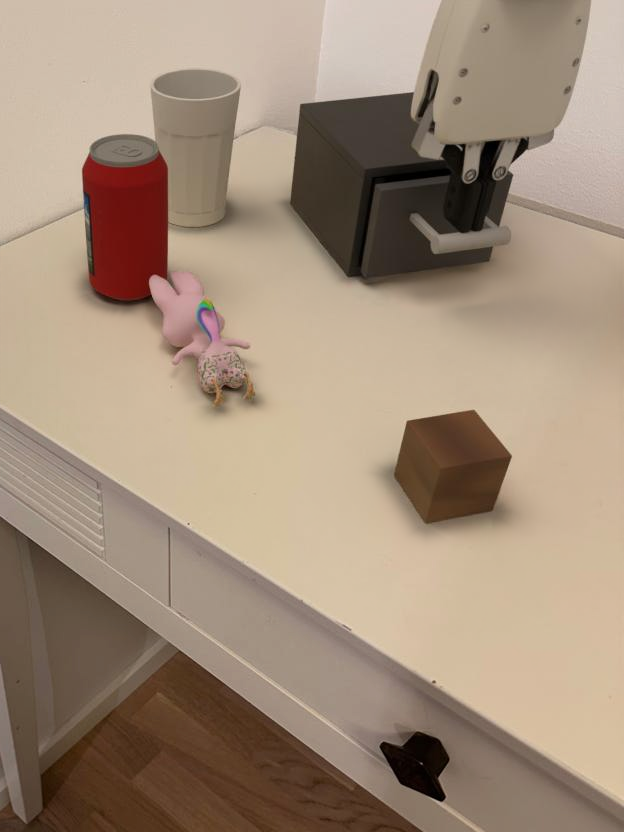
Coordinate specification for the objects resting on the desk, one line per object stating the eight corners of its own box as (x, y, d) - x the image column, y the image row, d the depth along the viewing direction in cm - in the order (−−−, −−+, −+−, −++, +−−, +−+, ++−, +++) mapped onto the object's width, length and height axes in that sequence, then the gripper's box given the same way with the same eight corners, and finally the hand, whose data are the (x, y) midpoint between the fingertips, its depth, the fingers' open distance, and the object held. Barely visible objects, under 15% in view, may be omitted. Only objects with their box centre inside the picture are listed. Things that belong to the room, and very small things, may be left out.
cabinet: (481, 258, 78) (509, 152, 72) (347, 276, 77) (365, 168, 70) (408, 188, 89) (427, 90, 82) (289, 203, 87) (299, 103, 80)
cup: (147, 196, 89) (145, 70, 80) (225, 191, 89) (232, 66, 81) (156, 233, 83) (155, 102, 75) (240, 228, 83) (249, 97, 75)
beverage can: (120, 258, 79) (115, 124, 71) (183, 280, 77) (185, 142, 68) (73, 291, 75) (62, 152, 67) (137, 315, 73) (134, 173, 64)
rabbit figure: (271, 409, 65) (196, 283, 74) (284, 349, 61) (203, 222, 69) (192, 428, 64) (125, 297, 72) (199, 368, 59) (127, 236, 68)
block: (457, 463, 59) (474, 408, 56) (493, 511, 55) (512, 455, 52) (393, 474, 58) (406, 420, 55) (425, 523, 55) (441, 468, 52)
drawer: (523, 294, 72) (552, 204, 67) (393, 313, 71) (412, 222, 65) (419, 194, 86) (436, 113, 81) (308, 208, 84) (318, 126, 79)
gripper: (599, -64, 60) (523, 193, 73) (395, -50, 58) (352, 213, 70) (670, -38, 55) (575, 235, 67) (449, -21, 53) (392, 258, 65)
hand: (461, 223), depth 69 cm, fingers closed
